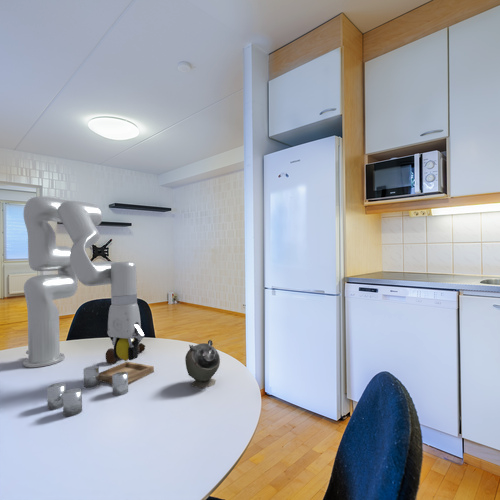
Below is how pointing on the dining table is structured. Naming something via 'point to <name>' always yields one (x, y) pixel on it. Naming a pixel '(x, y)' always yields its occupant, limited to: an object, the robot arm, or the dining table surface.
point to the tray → (131, 368)
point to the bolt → (112, 360)
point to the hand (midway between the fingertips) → (125, 357)
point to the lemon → (123, 348)
